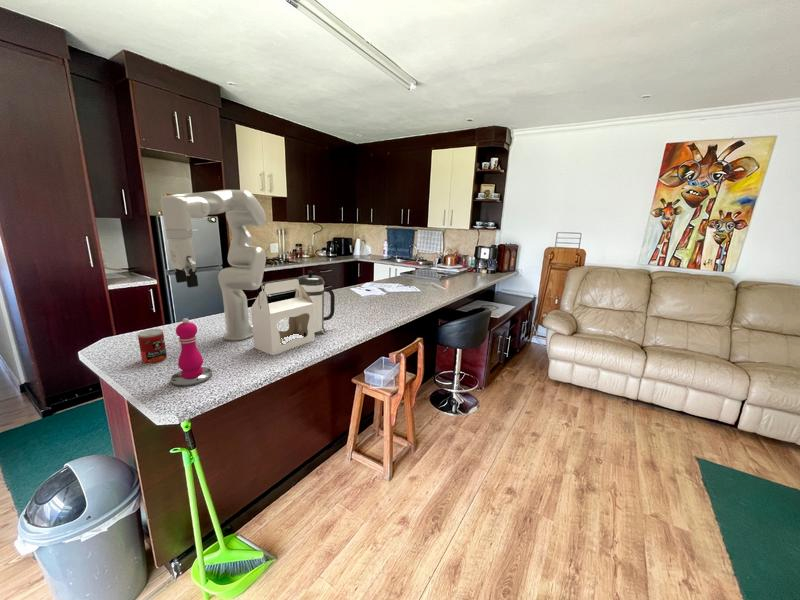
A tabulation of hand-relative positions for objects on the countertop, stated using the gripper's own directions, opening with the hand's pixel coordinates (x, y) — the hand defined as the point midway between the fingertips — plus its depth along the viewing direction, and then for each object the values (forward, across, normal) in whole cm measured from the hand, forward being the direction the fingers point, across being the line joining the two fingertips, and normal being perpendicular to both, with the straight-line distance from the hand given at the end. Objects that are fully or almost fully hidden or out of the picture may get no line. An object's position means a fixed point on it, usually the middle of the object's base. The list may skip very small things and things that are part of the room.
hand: (187, 284), depth 116 cm
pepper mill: (+29, +11, -6) cm, 31 cm away
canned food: (+31, -15, -10) cm, 35 cm away
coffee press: (+32, +2, +50) cm, 59 cm away
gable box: (+32, +6, +32) cm, 45 cm away
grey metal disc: (+30, +11, -6) cm, 32 cm away
